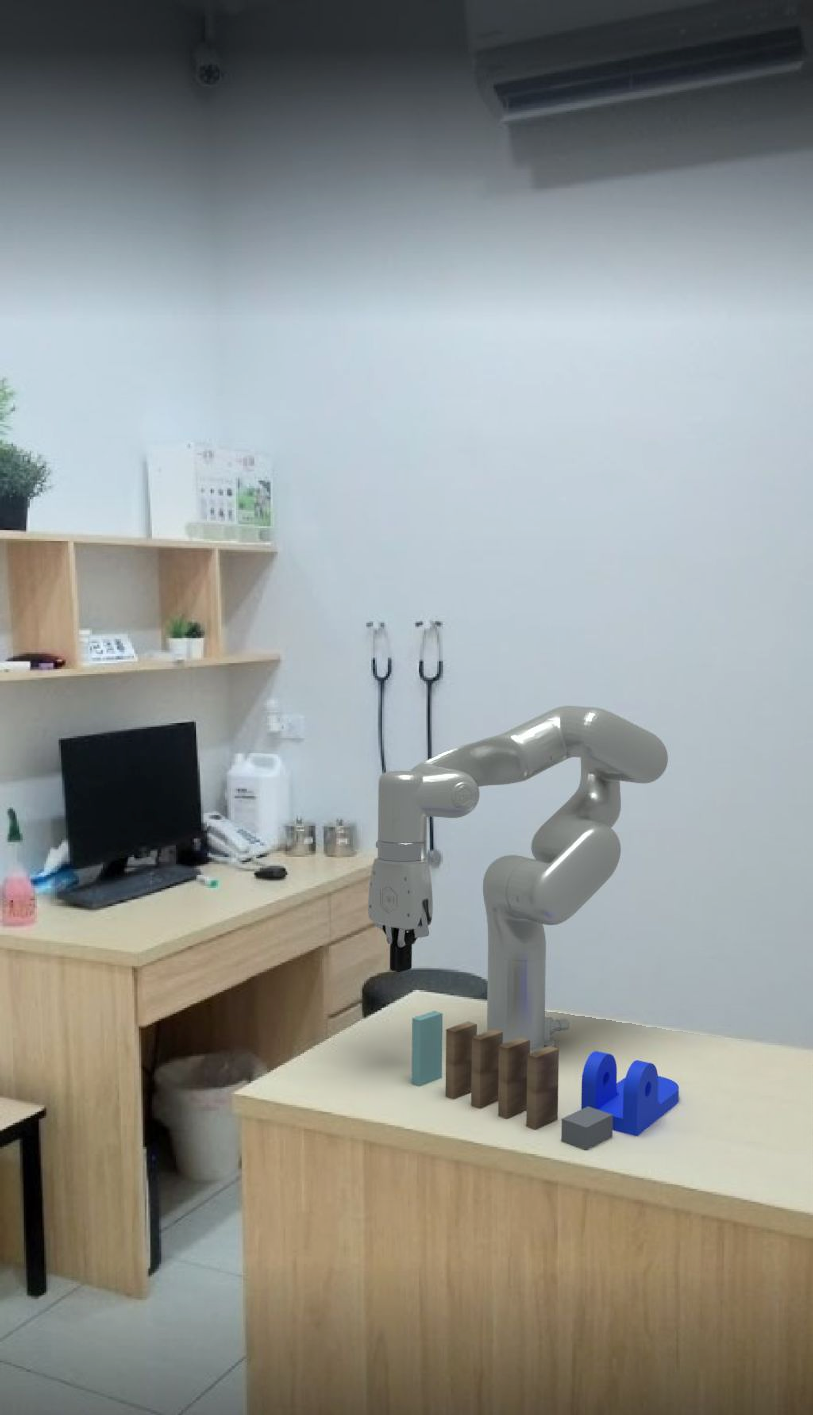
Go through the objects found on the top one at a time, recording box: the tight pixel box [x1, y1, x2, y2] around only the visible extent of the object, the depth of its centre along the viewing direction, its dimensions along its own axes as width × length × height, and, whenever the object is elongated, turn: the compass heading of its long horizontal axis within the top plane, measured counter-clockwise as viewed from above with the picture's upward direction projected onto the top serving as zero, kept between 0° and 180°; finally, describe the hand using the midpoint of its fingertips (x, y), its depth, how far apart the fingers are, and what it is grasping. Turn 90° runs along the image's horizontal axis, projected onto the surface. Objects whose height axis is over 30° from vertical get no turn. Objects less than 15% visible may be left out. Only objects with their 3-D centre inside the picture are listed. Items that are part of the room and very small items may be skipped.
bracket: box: [580, 1050, 680, 1137], centre depth 163 cm, size 18×8×9 cm, turn 145°
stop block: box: [560, 1106, 614, 1151], centre depth 152 cm, size 6×4×3 cm, turn 136°
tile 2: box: [445, 1021, 478, 1101], centre depth 168 cm, size 5×2×10 cm, turn 136°
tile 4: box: [497, 1037, 530, 1120], centre depth 161 cm, size 5×2×10 cm, turn 136°
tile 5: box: [525, 1046, 560, 1131], centre depth 157 cm, size 5×2×10 cm, turn 136°
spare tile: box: [411, 1010, 444, 1087], centre depth 173 cm, size 5×2×10 cm, turn 136°
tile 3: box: [470, 1029, 503, 1110], centre depth 164 cm, size 5×2×10 cm, turn 136°
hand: (400, 969), depth 176 cm, fingers closed
